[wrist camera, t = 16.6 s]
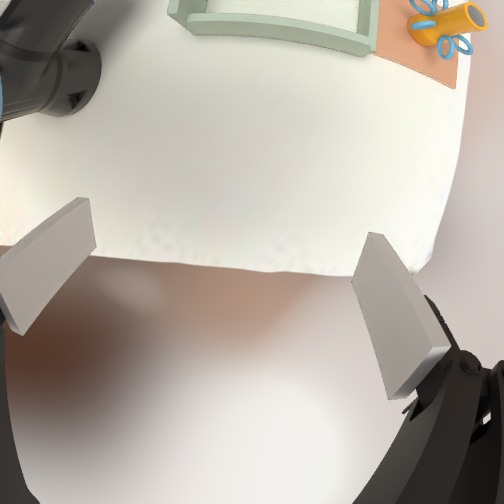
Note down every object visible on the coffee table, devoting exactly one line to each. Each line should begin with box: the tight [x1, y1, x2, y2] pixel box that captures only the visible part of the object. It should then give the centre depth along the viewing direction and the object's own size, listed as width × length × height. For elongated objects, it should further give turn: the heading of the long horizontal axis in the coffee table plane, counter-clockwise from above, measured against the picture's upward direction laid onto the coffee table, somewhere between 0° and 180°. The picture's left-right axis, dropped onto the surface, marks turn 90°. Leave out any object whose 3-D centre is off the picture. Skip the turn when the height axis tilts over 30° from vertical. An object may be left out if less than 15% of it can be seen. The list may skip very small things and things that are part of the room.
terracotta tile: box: [373, 0, 459, 89], centre depth 25 cm, size 16×16×1 cm
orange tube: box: [408, 0, 487, 60], centre depth 18 cm, size 12×10×15 cm
